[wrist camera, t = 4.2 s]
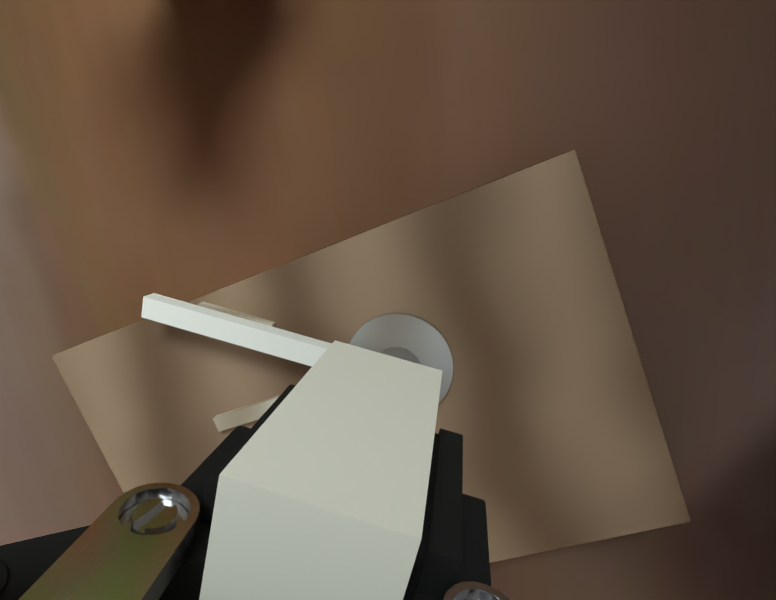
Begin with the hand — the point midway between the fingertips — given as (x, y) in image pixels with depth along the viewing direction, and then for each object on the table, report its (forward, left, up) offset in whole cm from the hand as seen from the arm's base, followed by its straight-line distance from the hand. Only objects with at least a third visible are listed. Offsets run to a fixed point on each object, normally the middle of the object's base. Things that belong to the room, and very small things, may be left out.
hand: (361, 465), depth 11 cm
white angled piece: (+3, -2, -6) cm, 7 cm away
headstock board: (+3, +2, -9) cm, 9 cm away
